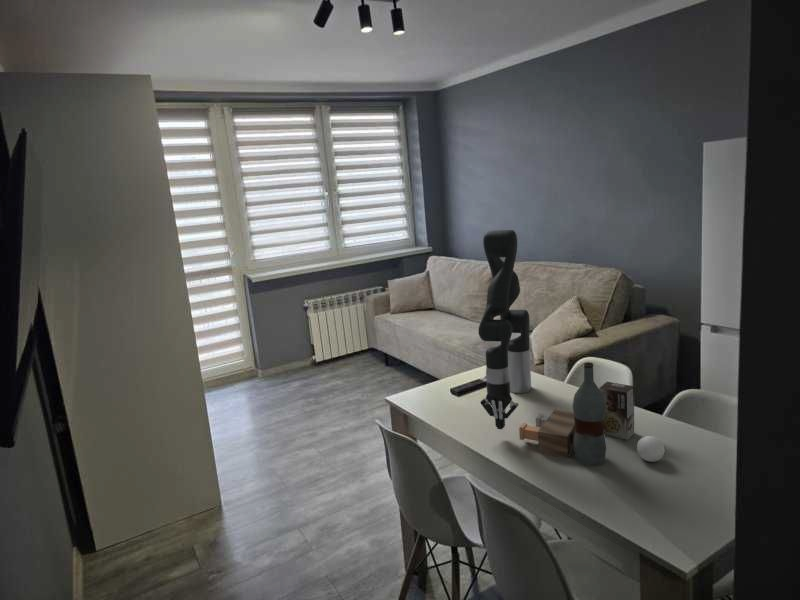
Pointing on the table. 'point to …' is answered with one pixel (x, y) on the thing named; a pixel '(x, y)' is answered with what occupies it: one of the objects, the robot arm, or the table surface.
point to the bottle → (589, 421)
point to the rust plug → (528, 432)
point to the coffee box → (618, 409)
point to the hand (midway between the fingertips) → (500, 428)
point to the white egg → (650, 448)
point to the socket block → (557, 434)
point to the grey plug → (540, 420)
